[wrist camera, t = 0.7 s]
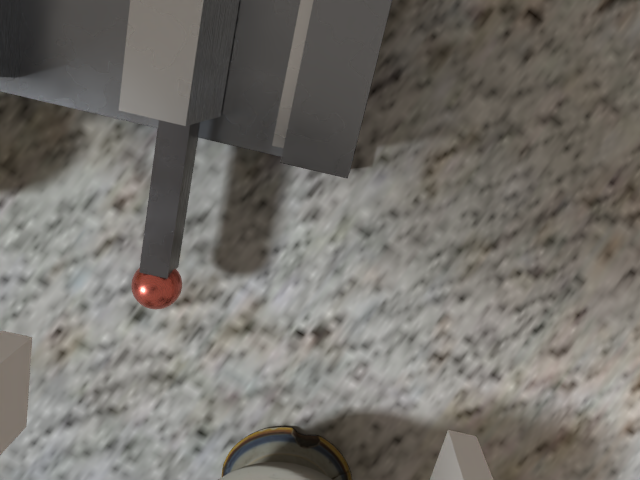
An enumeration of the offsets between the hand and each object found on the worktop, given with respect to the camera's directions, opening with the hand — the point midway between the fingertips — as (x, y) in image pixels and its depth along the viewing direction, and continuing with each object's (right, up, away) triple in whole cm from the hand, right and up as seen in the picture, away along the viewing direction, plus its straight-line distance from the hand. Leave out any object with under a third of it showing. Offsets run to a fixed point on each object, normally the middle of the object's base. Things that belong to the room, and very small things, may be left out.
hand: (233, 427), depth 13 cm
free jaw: (-5, +11, +16) cm, 21 cm away
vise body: (-5, +17, +16) cm, 24 cm away
